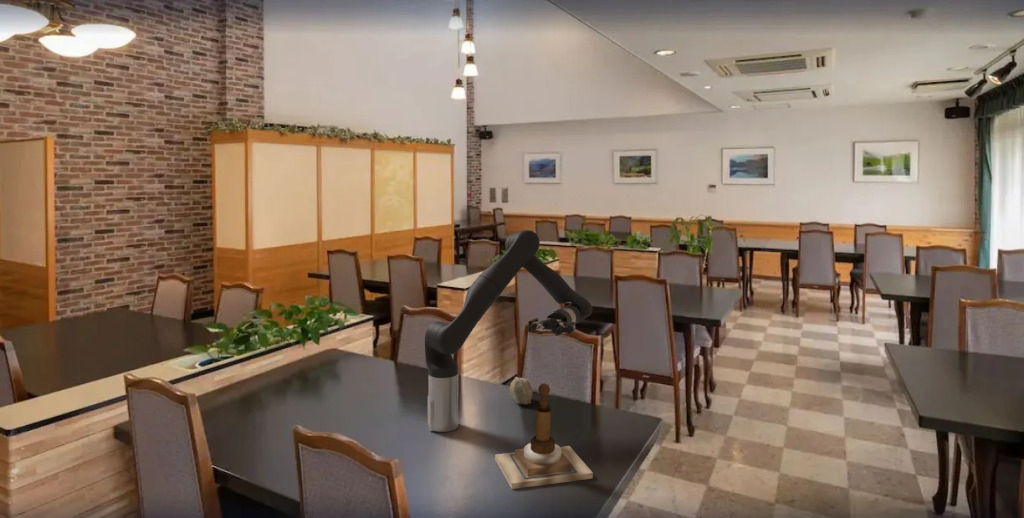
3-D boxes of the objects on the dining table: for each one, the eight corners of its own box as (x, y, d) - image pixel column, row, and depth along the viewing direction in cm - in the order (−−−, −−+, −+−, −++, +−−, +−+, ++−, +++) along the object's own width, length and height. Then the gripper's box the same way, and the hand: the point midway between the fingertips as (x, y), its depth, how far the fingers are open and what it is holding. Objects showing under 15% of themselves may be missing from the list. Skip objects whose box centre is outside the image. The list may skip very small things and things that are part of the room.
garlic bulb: (524, 413, 209) (523, 390, 205) (503, 404, 214) (503, 382, 209) (538, 398, 216) (538, 375, 212) (518, 389, 220) (517, 367, 216)
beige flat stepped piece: (511, 489, 152) (511, 468, 152) (495, 459, 169) (495, 440, 168) (592, 478, 158) (593, 458, 158) (569, 450, 175) (569, 432, 174)
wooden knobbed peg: (553, 455, 159) (555, 389, 157) (528, 453, 160) (530, 387, 158) (555, 444, 166) (557, 381, 163) (532, 442, 167) (533, 379, 164)
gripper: (541, 307, 201) (522, 316, 186) (582, 311, 195) (565, 321, 181) (541, 329, 202) (521, 340, 187) (582, 333, 196) (565, 345, 182)
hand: (543, 330), depth 184 cm, fingers open, 8 cm apart
